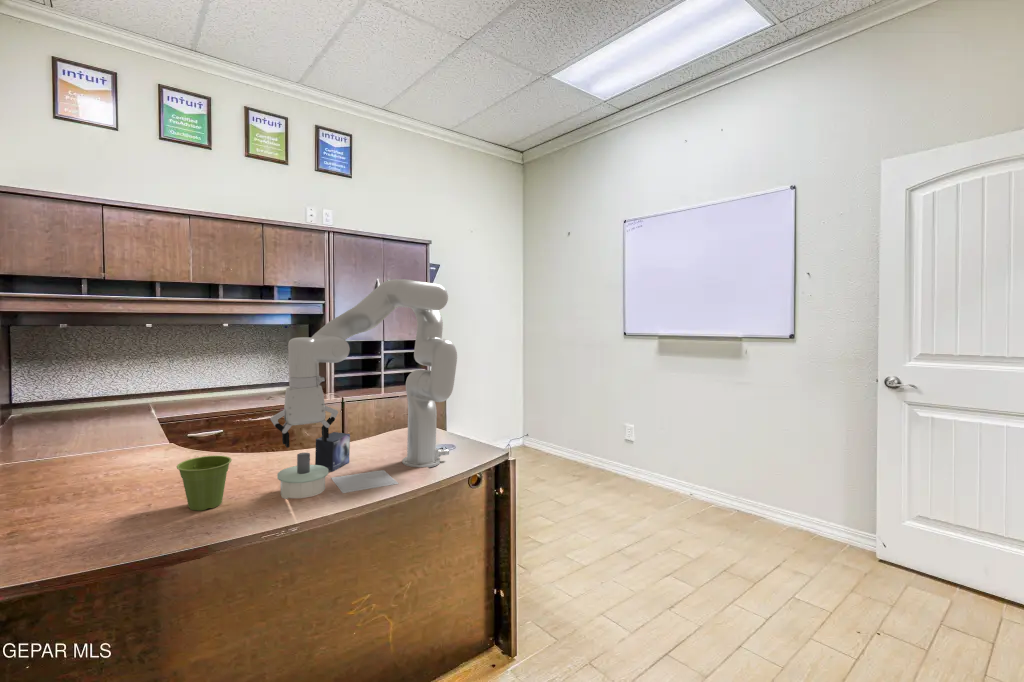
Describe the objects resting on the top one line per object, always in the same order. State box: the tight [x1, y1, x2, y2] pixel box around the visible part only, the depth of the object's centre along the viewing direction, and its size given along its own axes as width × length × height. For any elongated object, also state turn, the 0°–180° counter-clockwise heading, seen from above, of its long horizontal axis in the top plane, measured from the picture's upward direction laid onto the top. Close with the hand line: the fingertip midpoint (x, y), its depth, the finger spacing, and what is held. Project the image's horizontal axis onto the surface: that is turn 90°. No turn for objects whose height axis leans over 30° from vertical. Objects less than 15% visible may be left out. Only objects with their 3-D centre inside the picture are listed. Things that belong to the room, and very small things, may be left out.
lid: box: [276, 452, 329, 483], centre depth 135 cm, size 13×13×6 cm
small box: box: [314, 431, 351, 473], centre depth 157 cm, size 11×6×10 cm, turn 168°
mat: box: [330, 469, 399, 494], centre depth 144 cm, size 16×14×1 cm
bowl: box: [280, 477, 326, 500], centre depth 135 cm, size 11×11×5 cm
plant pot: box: [176, 455, 233, 512], centre depth 124 cm, size 12×12×11 cm
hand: (306, 443), depth 135 cm, fingers open, 9 cm apart
